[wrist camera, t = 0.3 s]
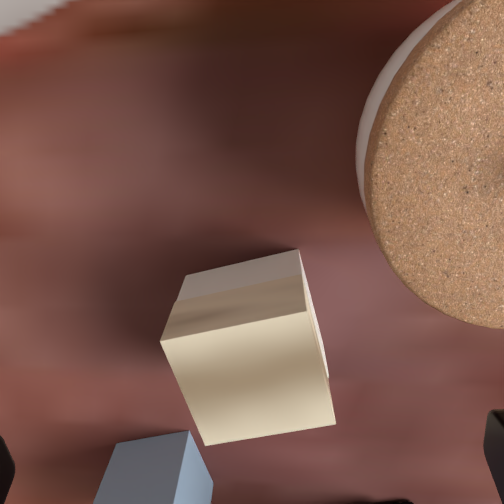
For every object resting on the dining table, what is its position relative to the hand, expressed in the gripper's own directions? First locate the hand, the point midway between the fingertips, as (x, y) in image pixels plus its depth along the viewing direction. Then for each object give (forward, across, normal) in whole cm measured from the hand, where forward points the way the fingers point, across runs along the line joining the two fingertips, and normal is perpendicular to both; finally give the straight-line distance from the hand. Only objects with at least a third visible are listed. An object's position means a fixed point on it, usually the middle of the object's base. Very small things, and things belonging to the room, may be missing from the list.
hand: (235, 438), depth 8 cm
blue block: (+14, +8, +17) cm, 24 cm away
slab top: (+11, +1, +6) cm, 13 cm away
